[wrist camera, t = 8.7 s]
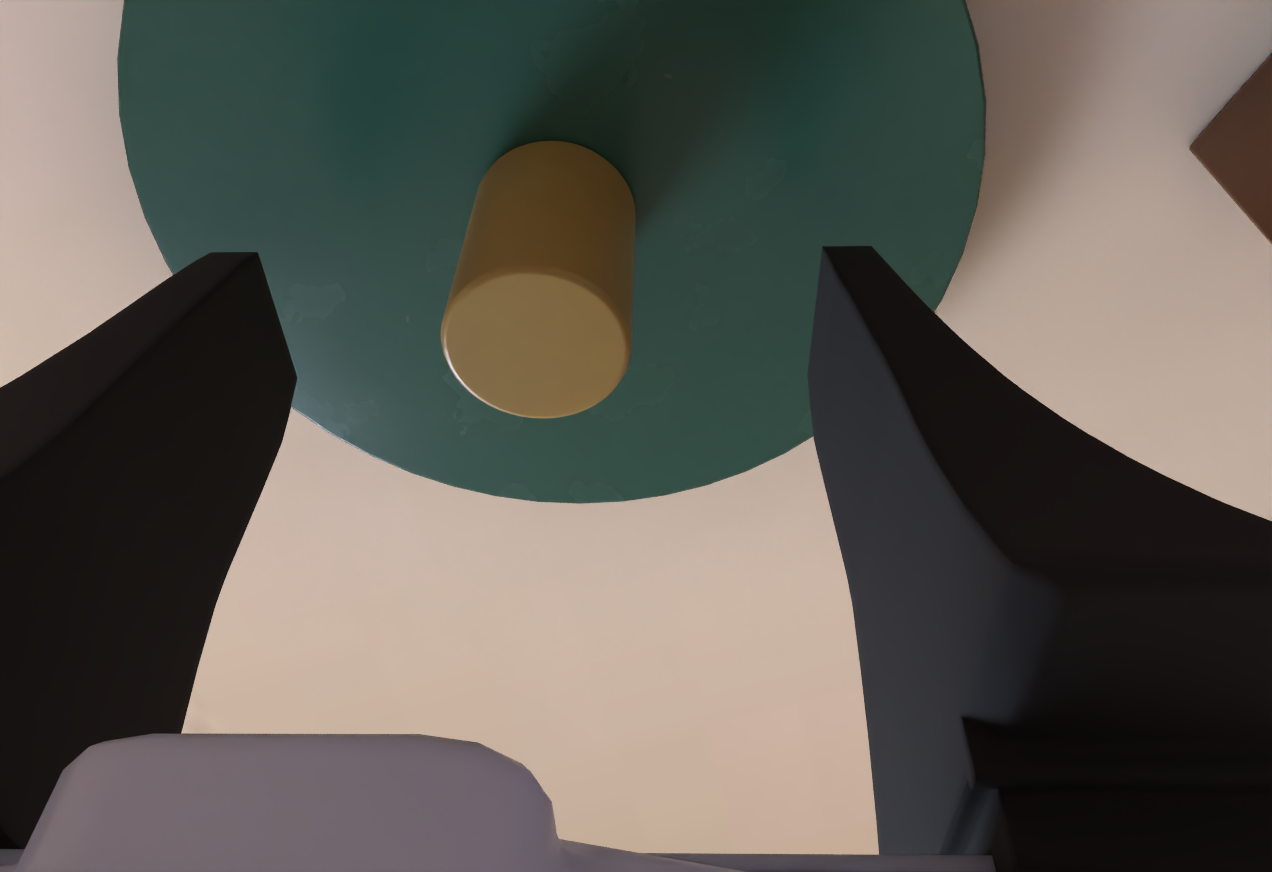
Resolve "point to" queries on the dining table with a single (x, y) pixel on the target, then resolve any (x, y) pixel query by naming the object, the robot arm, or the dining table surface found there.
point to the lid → (555, 210)
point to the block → (1244, 148)
